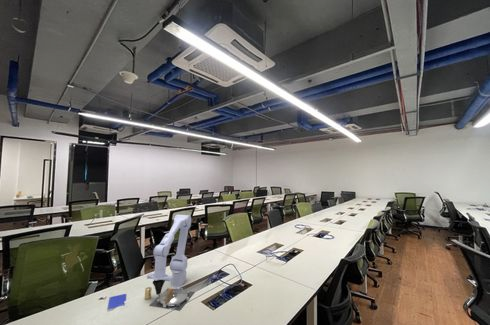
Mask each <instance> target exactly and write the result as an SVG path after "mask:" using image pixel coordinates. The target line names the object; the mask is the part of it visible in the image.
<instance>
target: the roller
mask: <svg viewBox="0 0 490 325" xmlns="http://www.w3.org/2000/svg"><path fill="white" fill-rule="evenodd" d="M151 298H152V287H149V286H148V287H146V288H145V290H144V300H145V301H148V300H151Z"/></svg>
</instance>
